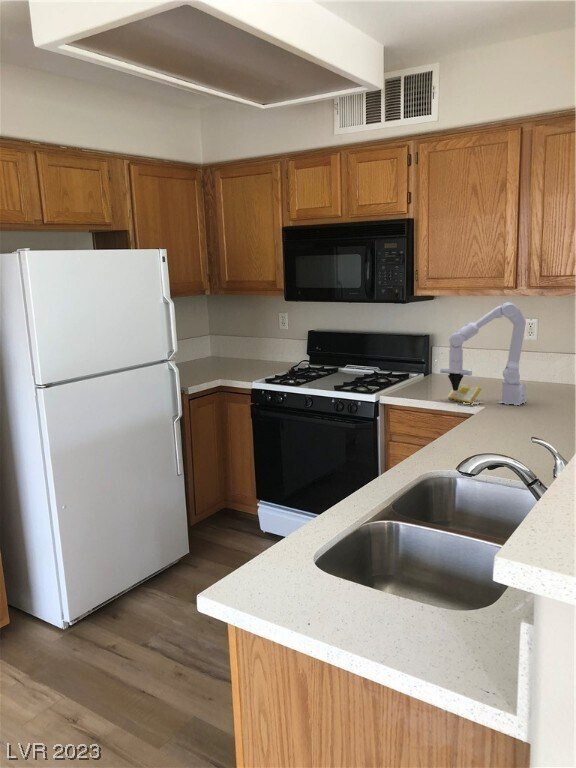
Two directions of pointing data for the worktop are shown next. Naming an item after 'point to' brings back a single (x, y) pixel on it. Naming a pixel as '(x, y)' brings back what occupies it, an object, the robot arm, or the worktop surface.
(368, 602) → the worktop surface
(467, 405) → the mat
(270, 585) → the worktop surface
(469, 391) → the candy box
